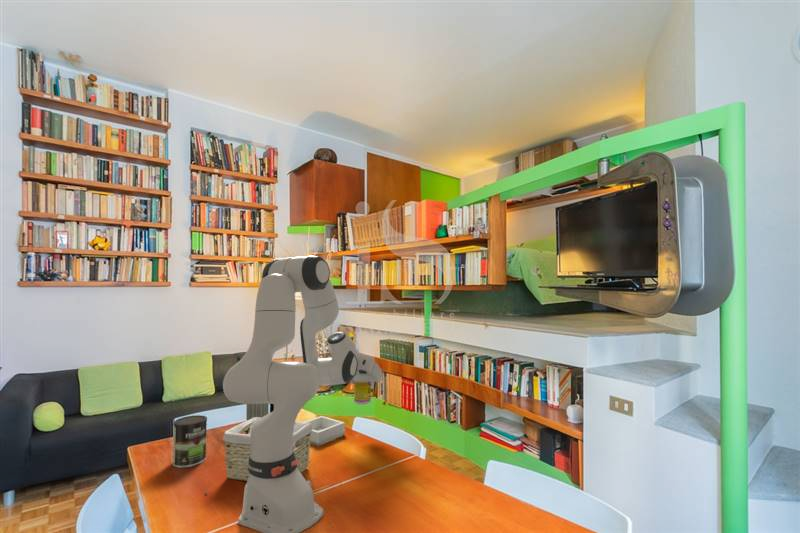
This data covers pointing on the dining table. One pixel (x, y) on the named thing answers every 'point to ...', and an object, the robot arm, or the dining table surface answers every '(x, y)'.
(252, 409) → the milk frother
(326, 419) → the box
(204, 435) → the coffee can
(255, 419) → the storage basket
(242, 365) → the robot arm
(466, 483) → the dining table surface
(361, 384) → the supplement bottle
